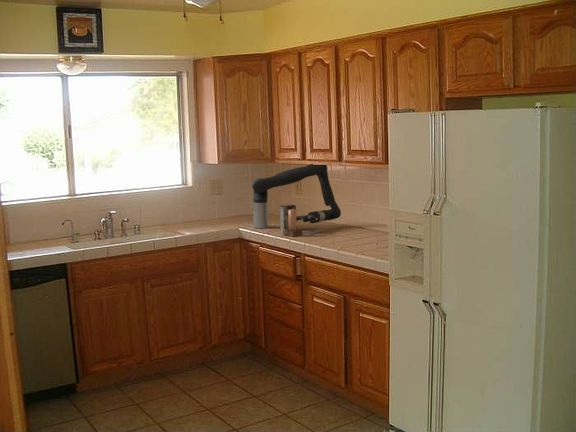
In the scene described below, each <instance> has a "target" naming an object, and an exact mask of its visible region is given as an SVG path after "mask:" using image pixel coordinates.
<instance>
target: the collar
mask: <svg viewBox="0 0 576 432" xmlns="http://www.w3.org/2000/svg"><path fill="white" fill-rule="evenodd" d="M282 231H283V230H282ZM302 232H303V229H297V231H294V232H291V231H289V230H285V231H283V236H284V237H290V238H295V237H300V236H303V233H302Z"/></svg>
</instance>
